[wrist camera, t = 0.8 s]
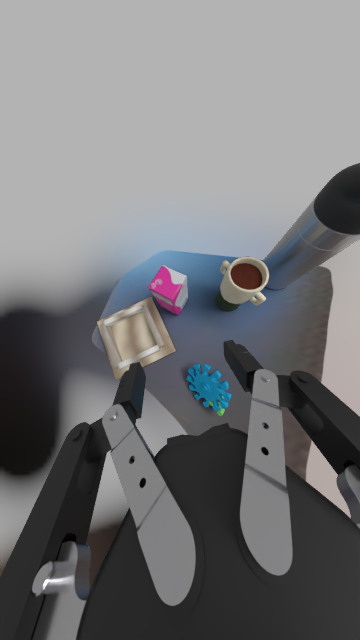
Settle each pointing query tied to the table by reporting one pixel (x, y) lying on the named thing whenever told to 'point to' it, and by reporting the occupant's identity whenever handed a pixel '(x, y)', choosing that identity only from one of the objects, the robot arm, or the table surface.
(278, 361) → the table surface
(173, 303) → the supplement box
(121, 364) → the plate
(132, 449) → the robot arm
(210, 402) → the gear
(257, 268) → the character mug
